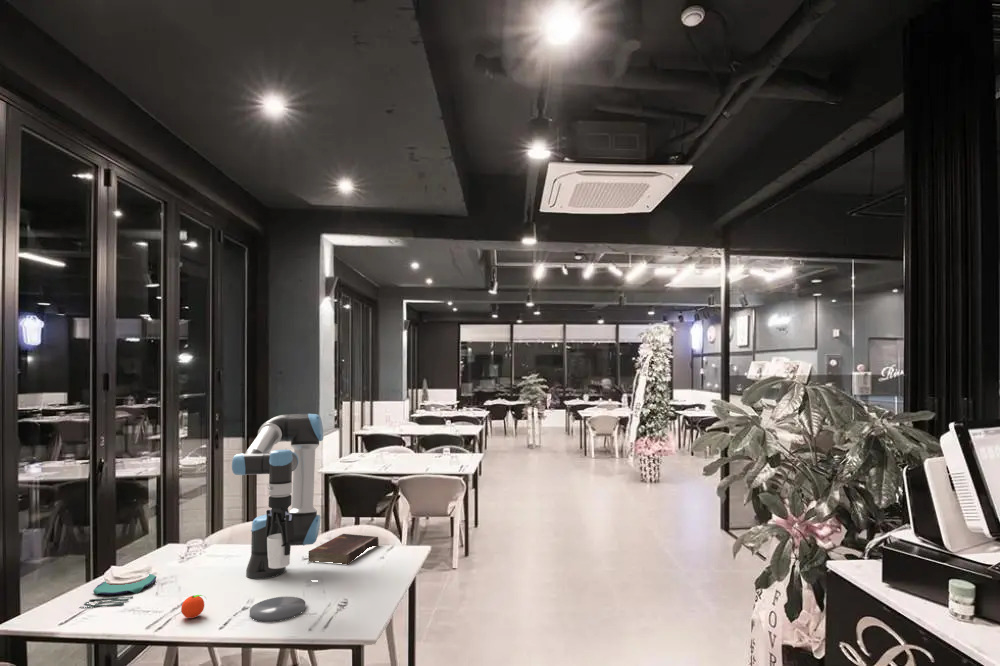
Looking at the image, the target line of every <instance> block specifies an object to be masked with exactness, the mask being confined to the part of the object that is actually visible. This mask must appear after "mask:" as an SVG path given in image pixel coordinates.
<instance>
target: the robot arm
mask: <svg viewBox="0 0 1000 666" xmlns="http://www.w3.org/2000/svg"><path fill="white" fill-rule="evenodd" d="M323 440H324V428H323V420H322V417H321V415H319V414H316V413H294V414H293V413H291V414H290V413H289V414H288V413H286V414H280V415H279V414H278V415H277V416H274V417H272V418H270V419H268V420H267V421H265V422H264V423H263V424H261V425H260V427H259V429H258V430H257V436H256V437H255V438H254V440H253V442H252V443H251V444H250V445H249V447H248V448H247V450H246V451H245V453H237V454H235V455H234V456H233V457H232V460H231V461H232V462H231V470H232V473H233V474H234V475H237V476H247V475H248V476H250V475H252V476H253V475H269V476H268V495H269V497H268V508H269V509H266V514H262V515H259V516H257V517H255V518H253V520H252V524H251V530H250V532H251V540H250V541H251V545H250V546H251V547H250V553H251V554H250V557H249V560H248V562H247V566H246V570H245V571H246V572H245V574H246V575H245V576H246V577H247V578H249V579H258V580H261V579H269V578H274V577H277V576H281V575H283V574H284V573H285V572H286V571H287V566H286V567H283V568H277V569H273V568H269V567H268V551H267V537H268V536H270V535H273V534H279V533H281V535H282V541H283V545H281V546H282V550H281V566H284V565H287V564H289V565H290V560H291V559H290V558H291V549H290V545H291V547H292V546H295V547H296V546H307V545H308V546H309V545H314V544H315V543H316V542H317V539H318V537H319V532H320V526H321V515H320V514H317V513H318V511H317V509H316V508H315V507H314V497H315V495H314V493H315V491H314V490H315V470H316V467H315V465H316V449H317V448H318V447H319V446H320V442H321V441H323ZM279 442H280V443H283V442H284V443H285V442H288V443H289V442H290V447H291V448H292V449H293V450H294V451H292V450H291V449H275V450H272V449H273V448H274V446H275V445H277V444H278V443H279ZM289 507H291V508H290V509H289Z"/></svg>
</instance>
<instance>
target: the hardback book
mask: <svg viewBox="0 0 1000 666" xmlns="http://www.w3.org/2000/svg"><path fill="white" fill-rule="evenodd" d="M379 541H380V540H379V536H372V535H361V534H350V533H342V534H339V535H338V536H336V537H334V538H332V539H329V540H328V541H327V542H324V543H322V544H319V545H318V546H316V547H314V548H312V549H311V550H308V562H309V561H313V562H312V563H316V562H315V561H319V562H333V563H342V564H348V563H349V564H351V563H352V562H351V561H352V560H354V559H355V558H356V557H357V556H359V555H360V554H361V553H363V552H364V551H365V550H366V549H367V548H369V547H372V546H377V547H378V546H379ZM354 561H355V560H354ZM350 562H351V563H350ZM349 564H348V565H349Z"/></svg>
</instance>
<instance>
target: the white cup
mask: <svg viewBox="0 0 1000 666" xmlns="http://www.w3.org/2000/svg"><path fill="white" fill-rule="evenodd" d="M281 545H283V541H282V535H281V533H279V534H273V535H270V536H268V537H267V551H268V567H269V568H273V569H277V568H283V567H286V568H287V567H288V566H290V564H287V565H284V566H281V550H282V546H281ZM291 547H292V546H291V545H290V550H291Z"/></svg>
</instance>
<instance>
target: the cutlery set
mask: <svg viewBox="0 0 1000 666" xmlns="http://www.w3.org/2000/svg"><path fill="white" fill-rule="evenodd" d="M148 574H149V576H148V577H147V578H146V579H145V580H142V581H140V582H137V583H132V584H125V585H109V584H107V583H106V580H105V581H104V582H101V583H100V584H98V585H97V586H96V587H94V589H93V593H94V594H95V595H97V596H100V595H104V596H105V595H107V596H108V595H110V596H111V595H121V594H127V593H134V594H138V592H139V593H140V592H141V591H142V590H143V589H144V588H146V587H148V586H151V585H152V584H153V583H155V581H156V579H157V576H156V575H154V574H152V573H148ZM102 599H104V600H102ZM130 599H134V596H112V597H102V598H101V597H100V598H99V597H98V598H91V599H89V600H88V601H85V602H84V603H83V604H84V605H85V606H87V608H86V607H85V608H84V606H80V607H78V608H81V607H83V608H81V609H91V608H90V607H94V606H107V607H115V606H117V607H118V606H121V607H122V606H124V605H125V602H128V601H129V600H130ZM90 600H95V601H101V602H99V603H100V604H97V603H98V602H95V603H94V602H93V601H90ZM89 602H93V603H94V604H95V605H93V606H91V604H92V603H89ZM112 602H115V603H112ZM87 603H88V604H87ZM105 603H109V604H105ZM88 606H89V607H88ZM94 608H95V607H94Z"/></svg>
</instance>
